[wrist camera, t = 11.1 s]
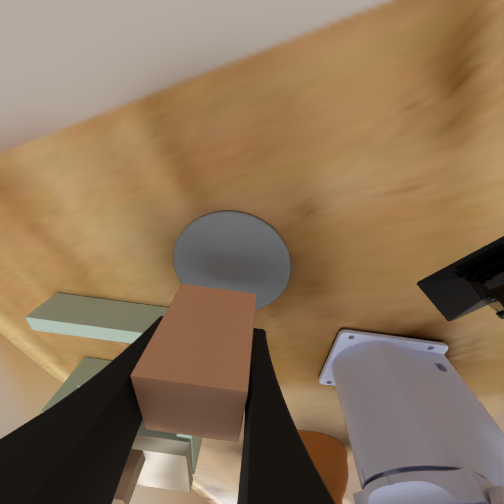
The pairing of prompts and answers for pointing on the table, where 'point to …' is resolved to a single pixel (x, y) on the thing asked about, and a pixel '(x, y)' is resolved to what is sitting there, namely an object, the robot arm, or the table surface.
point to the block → (198, 364)
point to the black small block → (469, 283)
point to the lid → (155, 467)
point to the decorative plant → (328, 461)
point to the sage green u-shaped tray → (100, 327)
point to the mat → (233, 255)
